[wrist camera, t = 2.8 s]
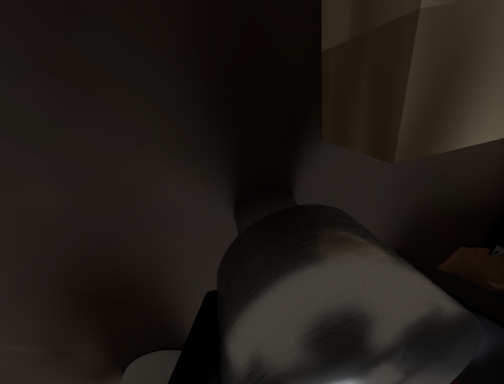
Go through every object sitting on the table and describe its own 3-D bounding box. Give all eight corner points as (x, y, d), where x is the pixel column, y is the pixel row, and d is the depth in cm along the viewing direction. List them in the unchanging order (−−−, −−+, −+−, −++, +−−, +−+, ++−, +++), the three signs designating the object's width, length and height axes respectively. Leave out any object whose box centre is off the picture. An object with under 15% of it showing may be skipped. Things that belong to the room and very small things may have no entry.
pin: (310, 154, 12) (532, 267, 4) (313, 239, 15) (440, 406, 7) (200, 178, 11) (179, 385, 3) (226, 263, 14) (251, 483, 6)
